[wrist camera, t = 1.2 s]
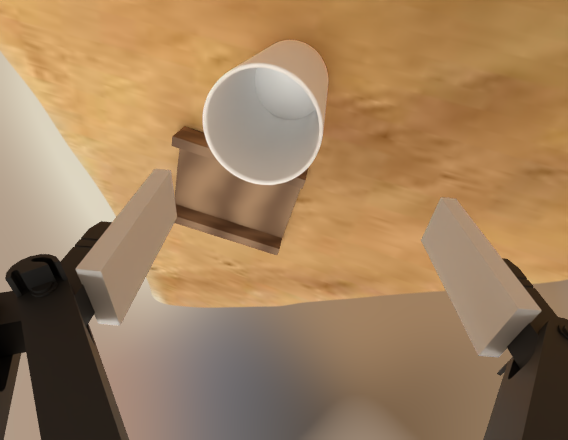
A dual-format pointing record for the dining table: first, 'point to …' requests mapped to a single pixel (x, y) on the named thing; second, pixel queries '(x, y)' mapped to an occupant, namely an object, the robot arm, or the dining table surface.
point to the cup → (269, 114)
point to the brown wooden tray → (229, 198)
